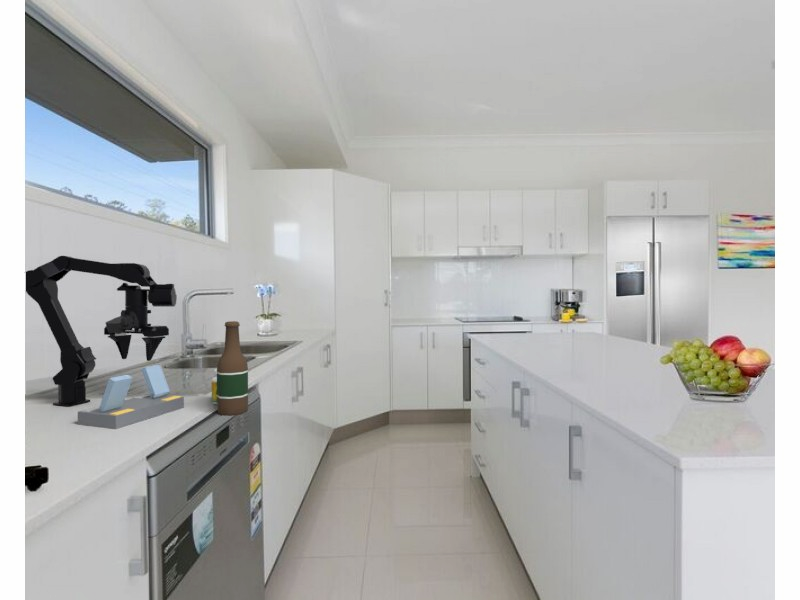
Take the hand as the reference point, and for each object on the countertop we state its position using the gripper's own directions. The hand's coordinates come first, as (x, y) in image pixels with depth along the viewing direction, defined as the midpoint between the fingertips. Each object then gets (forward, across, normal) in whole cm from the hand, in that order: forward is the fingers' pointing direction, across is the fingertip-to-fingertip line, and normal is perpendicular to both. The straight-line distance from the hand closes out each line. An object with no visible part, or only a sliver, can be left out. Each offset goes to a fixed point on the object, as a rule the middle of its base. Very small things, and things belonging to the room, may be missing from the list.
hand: (136, 359), depth 136 cm
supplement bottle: (+12, +26, +6) cm, 29 cm away
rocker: (+8, +14, -6) cm, 17 cm away
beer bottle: (+12, +36, -3) cm, 38 cm away
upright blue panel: (+8, +14, -20) cm, 26 cm away
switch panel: (+12, +13, -13) cm, 22 cm away
